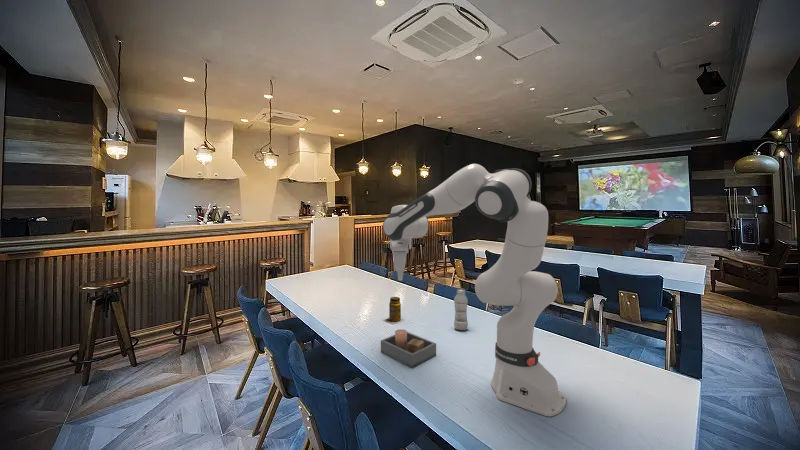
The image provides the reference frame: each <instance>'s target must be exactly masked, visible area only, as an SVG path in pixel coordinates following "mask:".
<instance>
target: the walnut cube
mask: <svg viewBox="0 0 800 450" xmlns="http://www.w3.org/2000/svg"><path fill="white" fill-rule="evenodd" d="M423 348H424V341H421V340H417V339H412V340H411V341H410V342H408V343H407V351H408V352H410V353H414V352H416V351H418V350H420V349H423Z"/></svg>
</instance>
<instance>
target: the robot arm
mask: <svg viewBox="0 0 800 450" xmlns="http://www.w3.org/2000/svg"><path fill="white" fill-rule="evenodd" d="M531 190H532V178H531V177H530V175H529V173H527V172H526V171H525V170H523V169H520V168H514V167H513V168H504V169H503V168H502V169H496V170H494V171H493V173H490V172H489V171H488V170H487V169H486V168H485V167H484V166H482V165H481V164H478V163H471V164H470V163H469V165H468V164H467V165H466V166H464V167H462V168H460V169H459V170H457V171H456V172H455V173H453V174H452V175H451V176H450V177H448V178H447V179H446V180H444V181H443V182H442V183H440V184H438V186H436V187H435V188H433V189H431V190H429V191H428V192H426V193H425V194H423V195H421V196H419V197H418V198H416V199H414V200H413V201H411V203H409V204H405V203H404V204H397V205H394V206H392V208H391V210H390V213H389V214H388V215H387V216H386V217H385V219H384V220H383V223H382V230H383V233H384V234H385V236H386V237H387V238H388V239H389V247H390V250H391V252H392V254H393V266H394V271H396V273H397V281H399V282H400V281H401V282H402V281H403V279H404V273H405V272H404V271H405V269H406V264H407V254H409V250H411V249H412V240H413V239H417V238H418V239H419V238H422V237H425V236H426V235H427V234H428V232H429V230H430V229H429V228H430V222H429V219H428V217H430V216H431V217H432V216H438V215H439V216H440V215H450V214H451V215H452V214H454V213H457V212H459V211H462V210H464V209H466V208H467V207H469V206H470V205H471V204H473V203H474V202H475V207H476V209H477V210H478V212H480V213H481V214H482V215H483V216H485V217H486V218H489V219H493V220H496V221H498V222H500V223H507V228H506V231H505V232H506V233H505V240H504V244H503V248H502V251H501V252H502V253H501V255H500V257H499V258H498V260H497V261H496V263H494V264H493V265H492V266H491V267H490V268H489V269H487V270H486V271H484V272H482V273H480V274H479V275H478V276H477V278H476V280H475V283H474V291H475V295H476V296H477V298H478V299H479V301H480V302H481V303H482V304H488V305H493V306H511V307H513V308H512V309H511V310H510V311H508V312H507V313H505V314H503V315H502V316H500V318H499V319H498V320H497V323H496V342H495V346H494V347H495V348H494V357H495V364H494V365H495V366H494V371H493V375H492V379H491V382H490V385H491V388H492V389H493V390H494V392H495V393H496V397H497V399H498V400H499V401H502V402H505V403H507V404H510V405H513V406H516V407H519V408H522V409H525V410H527V411H530V412H533V413H536V414H538V415H541V416H546V417H554V416H557V415H558V414H560V413H561V412H562V411H563V410H564V409H565V408H566V405H567V397H566V395H565V393H564V392H562V391H560V390H559V386H558V381H557V379H556V377H555V376H554V375H553V374H552V373H551V372H550V371H549V370H548V369H547V368H545V367H544V365H543V364H541V363H540V361H539V358H540V356H541V352H540V351H539V352H538V353H537V352H536V351H535V349H534V346H533V341H534V331H535V330H534V329H535V324H536V322H537V320H538V318H539V316H540V315H541V313H542V312H543V311H544V310H545V309H546V308H547V307H548V306H550V305H551V304H553V303H554V302H555V301H556V300H557V299H556V298H557V297H558V292H559V289H558V284H557V282H556V280H555V278H554V276H552V275H551V274H549V273H546V272H541V271H533V270H535V269H536V268H538V266H539V265H540V264H541V262H542V260H543V259H542V258H543V254H544V250H545V246H546V241H547V237H548V231H549V211H548V209H547V207H546V206H545V205H543V204H542V203H541V202H538V201H535V200H531V199H529V197H528V196H529V195H530V193H531Z"/></svg>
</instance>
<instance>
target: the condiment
mask: <svg viewBox="0 0 800 450" xmlns="http://www.w3.org/2000/svg"><path fill="white" fill-rule="evenodd" d="M389 300H390V301H389V307H388V308H389V310H388V311H389V313H388V314H389V315H388V316H389V318H386V319H383V321H384V322H387V323H388V324H390V325H391V324H392V325H394V324H397V323H400V322H403V321H404V319H403V318H402V312H401V311H402V310H401V309H402V307H401V305H402V304H401V298H400V297H399V296H392V297H390V299H389Z"/></svg>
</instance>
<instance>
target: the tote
mask: <svg viewBox="0 0 800 450" xmlns="http://www.w3.org/2000/svg"><path fill="white" fill-rule="evenodd" d="M412 339H417V340H421V341H424V348H423V349H420V350H418V351H416V352H414V353H410V352H408V351H407V350H404V349H401V348H399V347H397V346H395V334H393V335H390V336H388V337H385V338H383V339H380V353H382V354H383V355H385V356H388V357H389V358H391V359H393V360H395V361H397V362H399V363H401V364H403V365H404V366H406V367H409V368H411V369H414V368H415V367H418V366H419V365H421V364H423V363H424V362H427V361H429V360H431V359H432V358H434V357H436V356H437V343H436V342H433V341H432V340H431V341H430V340H429V339H427V338H425V337H421V336H419V335H416V334H414V333H412V332H409V331H407V343H408V342H410V341H411V340H412Z"/></svg>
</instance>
